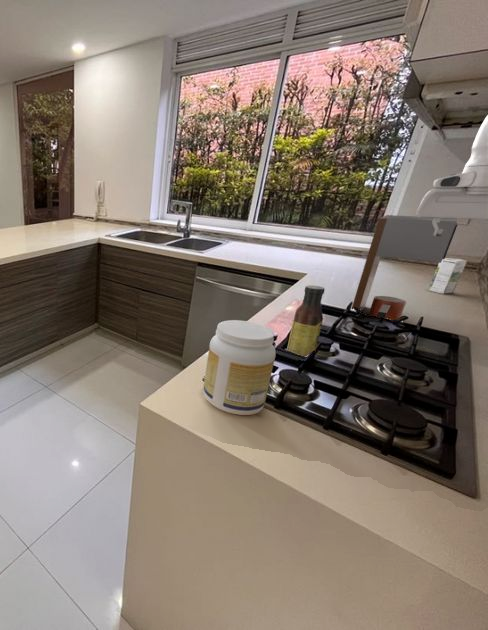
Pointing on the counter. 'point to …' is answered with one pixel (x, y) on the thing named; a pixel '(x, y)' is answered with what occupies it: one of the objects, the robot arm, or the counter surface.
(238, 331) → the supplement tub
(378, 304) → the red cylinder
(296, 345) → the sauce bottle
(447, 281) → the syrup box
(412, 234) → the flag
